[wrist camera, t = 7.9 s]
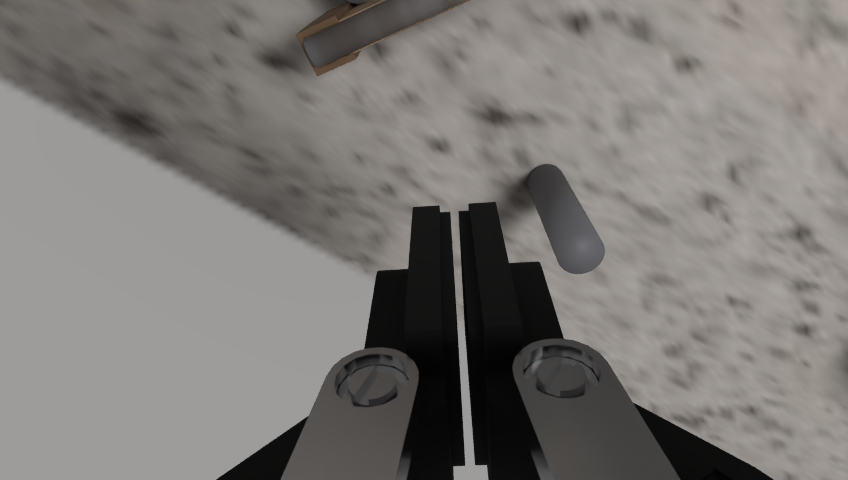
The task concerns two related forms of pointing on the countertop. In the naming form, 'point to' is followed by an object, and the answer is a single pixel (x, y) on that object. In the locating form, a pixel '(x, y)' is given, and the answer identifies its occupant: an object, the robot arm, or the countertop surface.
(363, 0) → the gate frame
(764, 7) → the countertop surface
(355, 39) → the gate
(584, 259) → the post
